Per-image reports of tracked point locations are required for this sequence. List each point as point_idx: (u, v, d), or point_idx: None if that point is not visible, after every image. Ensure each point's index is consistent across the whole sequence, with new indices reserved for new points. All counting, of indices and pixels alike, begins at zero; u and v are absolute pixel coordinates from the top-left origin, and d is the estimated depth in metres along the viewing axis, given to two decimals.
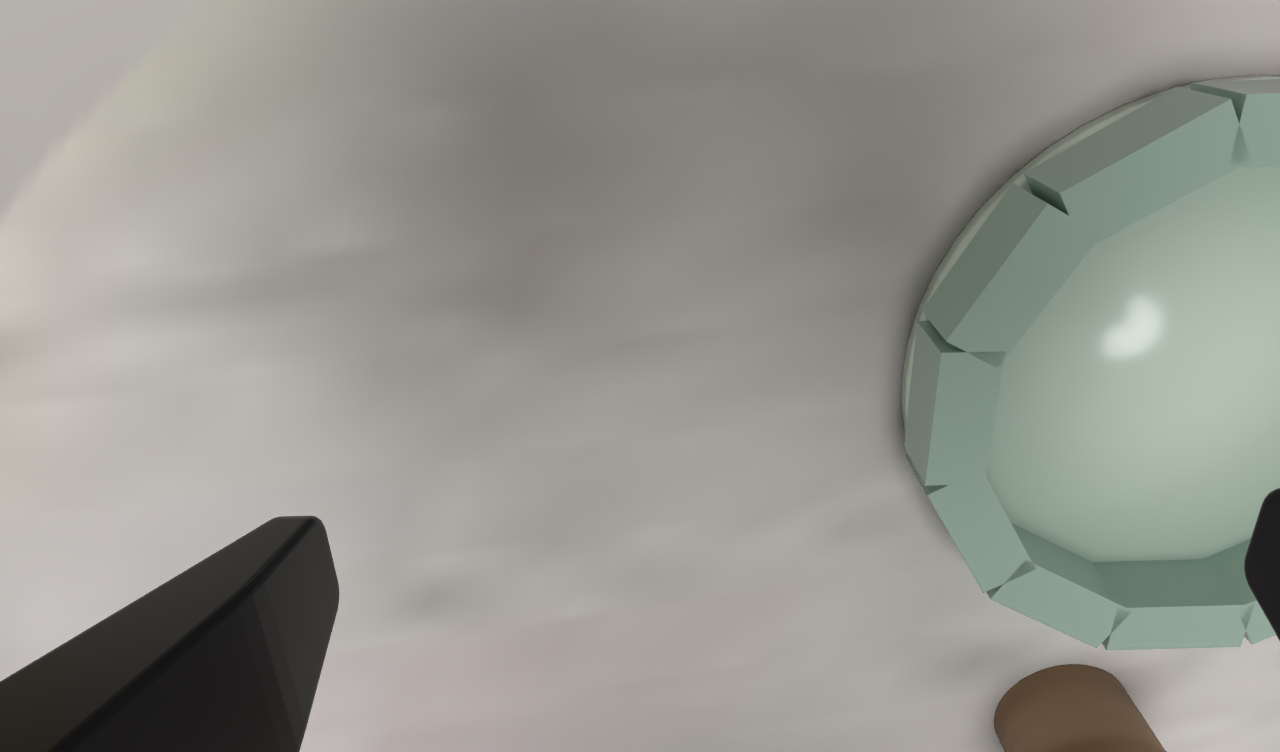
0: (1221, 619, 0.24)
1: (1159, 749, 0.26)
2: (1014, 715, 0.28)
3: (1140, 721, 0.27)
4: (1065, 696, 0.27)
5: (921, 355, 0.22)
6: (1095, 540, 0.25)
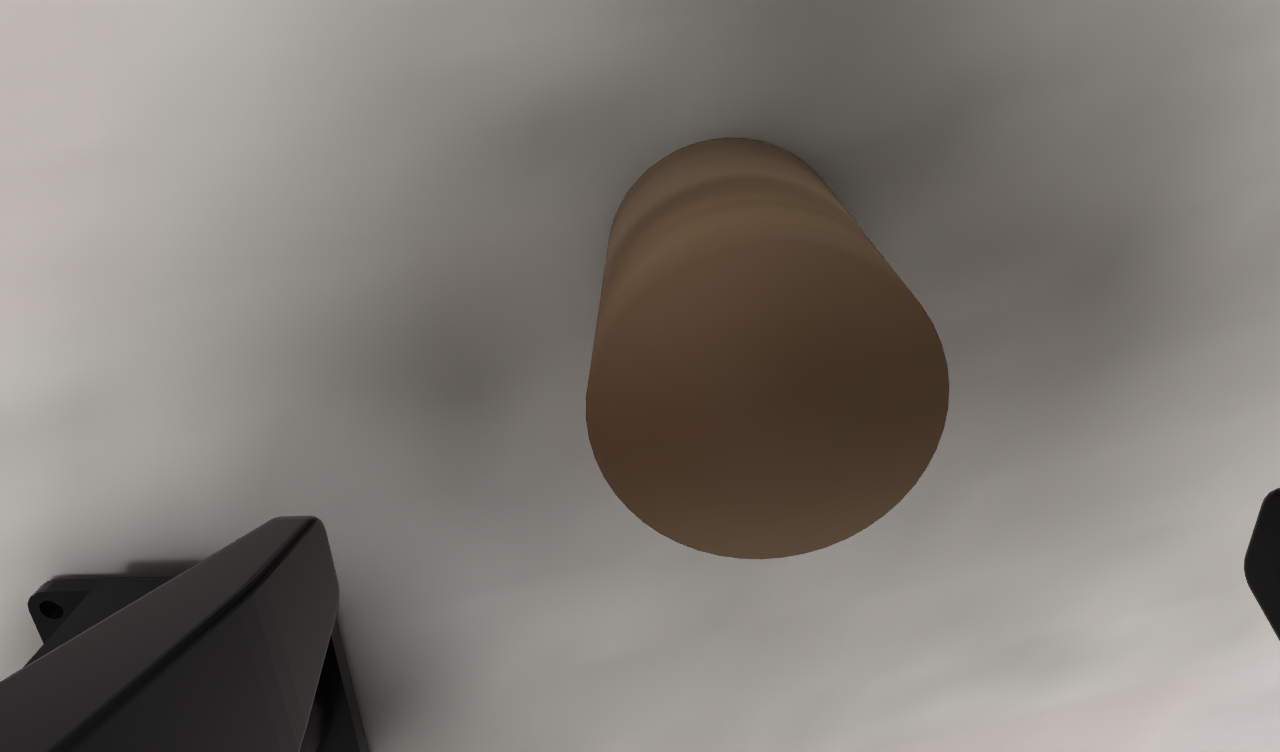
0: None
1: (835, 204, 0.12)
2: (615, 229, 0.15)
3: (820, 186, 0.13)
4: (689, 162, 0.14)
5: None
6: None
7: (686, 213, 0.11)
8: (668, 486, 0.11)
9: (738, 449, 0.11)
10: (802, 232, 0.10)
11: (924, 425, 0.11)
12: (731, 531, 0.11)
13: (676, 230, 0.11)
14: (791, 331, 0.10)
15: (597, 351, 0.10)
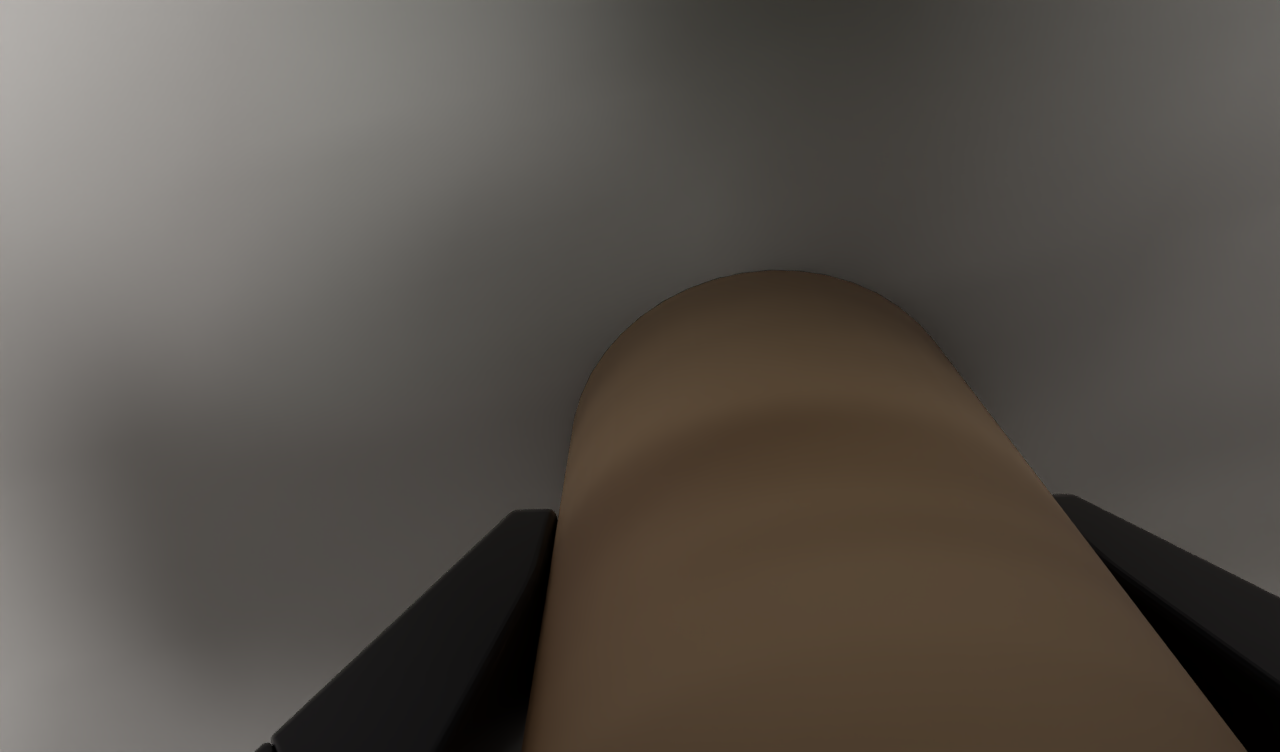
0: None
1: (1008, 456, 0.06)
2: (579, 429, 0.09)
3: (957, 391, 0.07)
4: (709, 330, 0.08)
5: None
6: None
7: (716, 531, 0.05)
8: None
9: None
10: (1043, 716, 0.04)
11: None
12: None
13: (694, 600, 0.05)
14: None
15: None
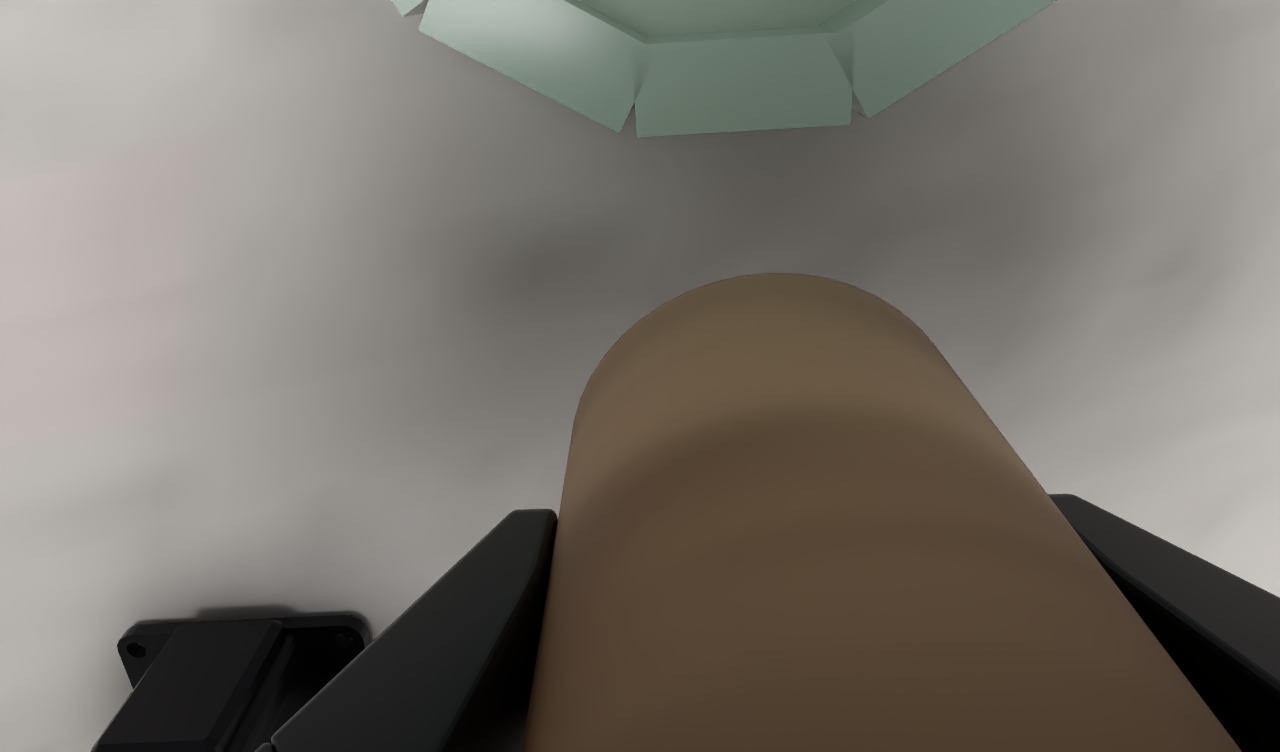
0: (807, 66, 0.14)
1: (1007, 460, 0.06)
2: None
3: (957, 394, 0.07)
4: (708, 334, 0.08)
5: None
6: None
7: (712, 534, 0.05)
8: None
9: None
10: (1040, 719, 0.04)
11: None
12: None
13: (694, 605, 0.05)
14: None
15: None
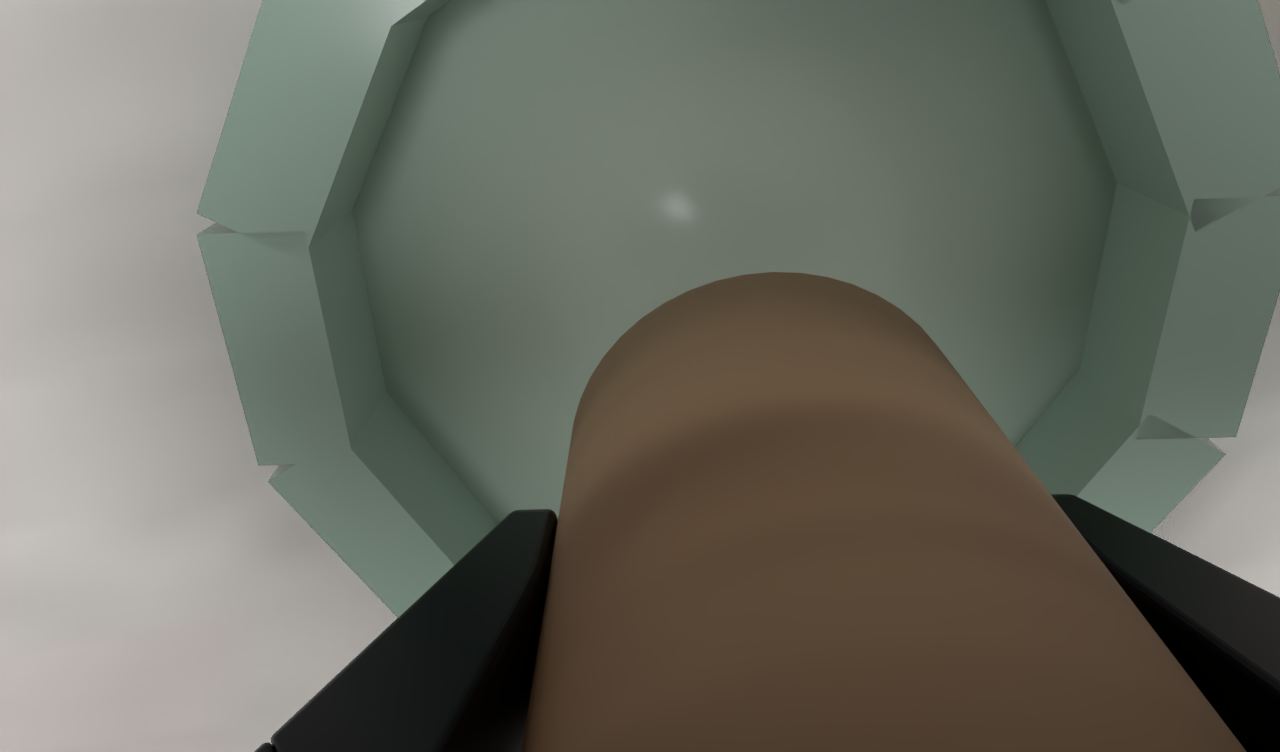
0: None
1: (1009, 460, 0.06)
2: (579, 432, 0.09)
3: (959, 393, 0.07)
4: (709, 333, 0.08)
5: None
6: None
7: (715, 536, 0.05)
8: None
9: None
10: (1045, 721, 0.04)
11: None
12: None
13: (695, 606, 0.05)
14: None
15: None
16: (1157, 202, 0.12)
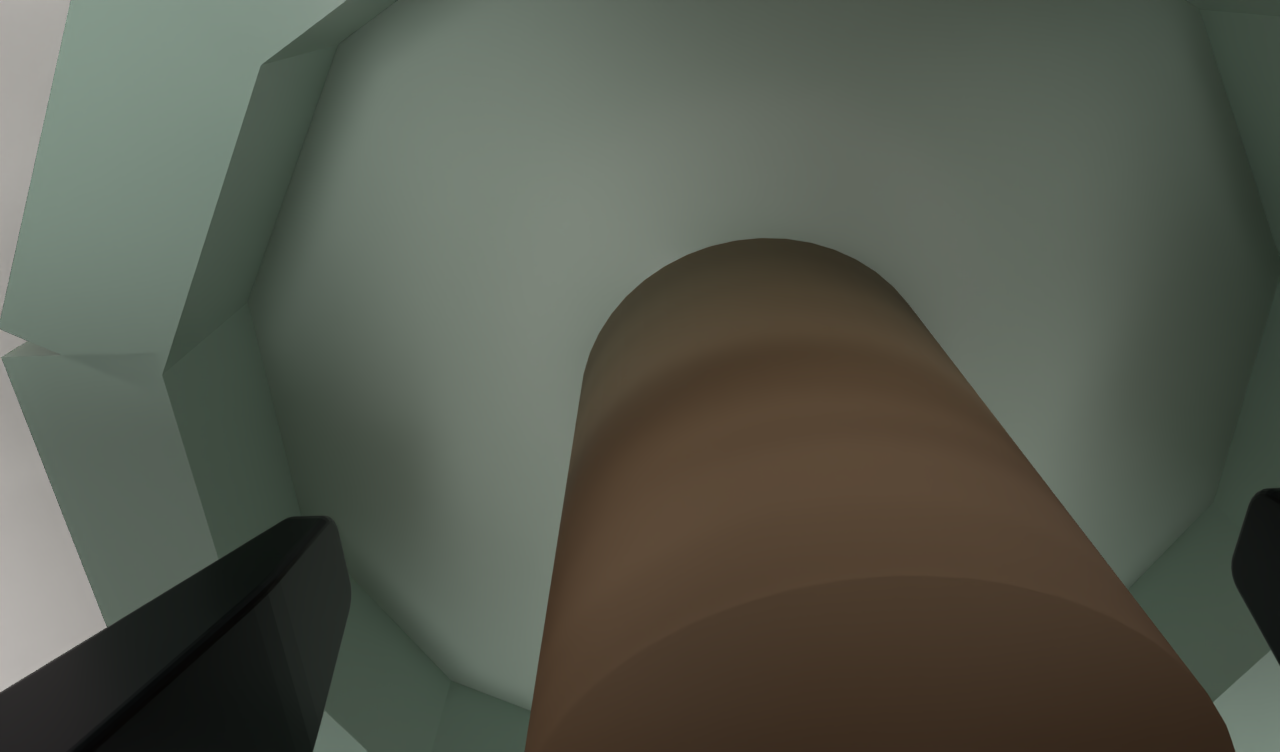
0: None
1: (959, 386, 0.07)
2: None
3: (921, 337, 0.08)
4: (704, 287, 0.09)
5: None
6: None
7: (706, 435, 0.06)
8: None
9: None
10: (960, 547, 0.05)
11: None
12: None
13: (689, 484, 0.06)
14: (930, 736, 0.05)
15: None
16: None
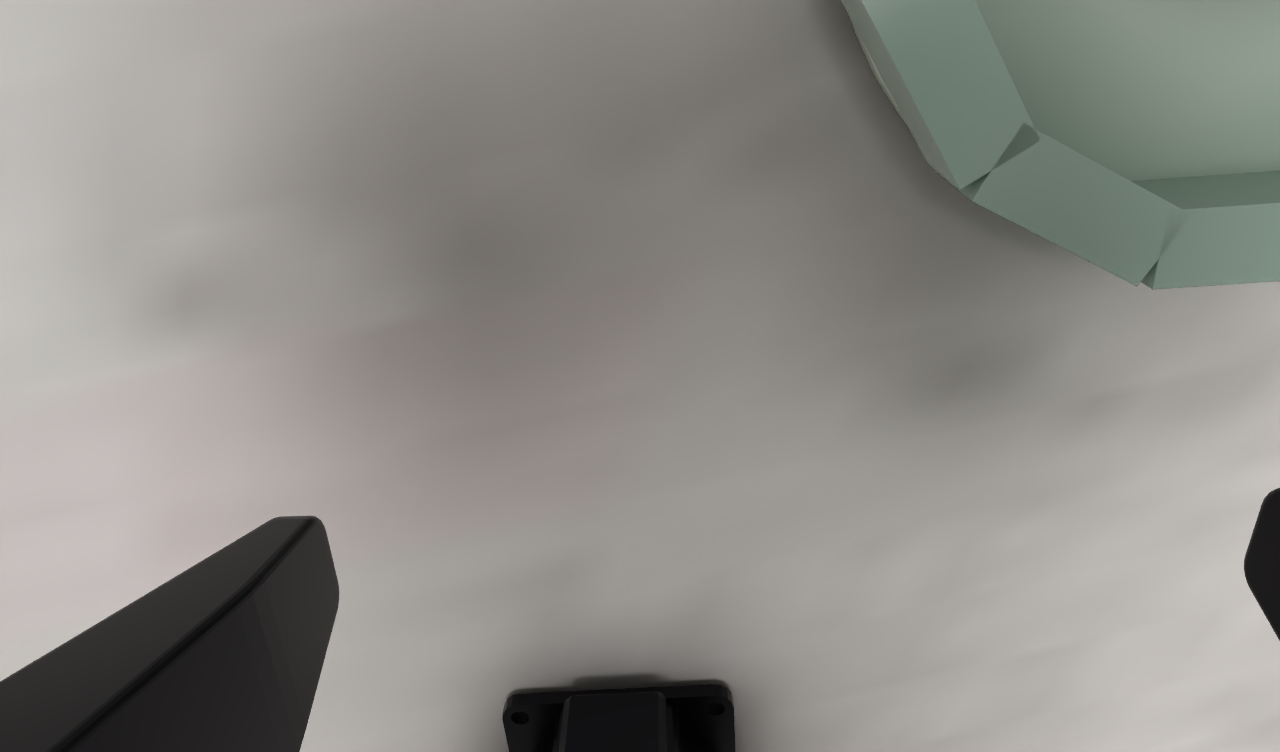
0: None
1: None
2: None
3: None
4: None
5: None
6: (1131, 141, 0.17)
7: None
8: None
9: None
10: None
11: None
12: None
13: None
14: None
15: None
16: None
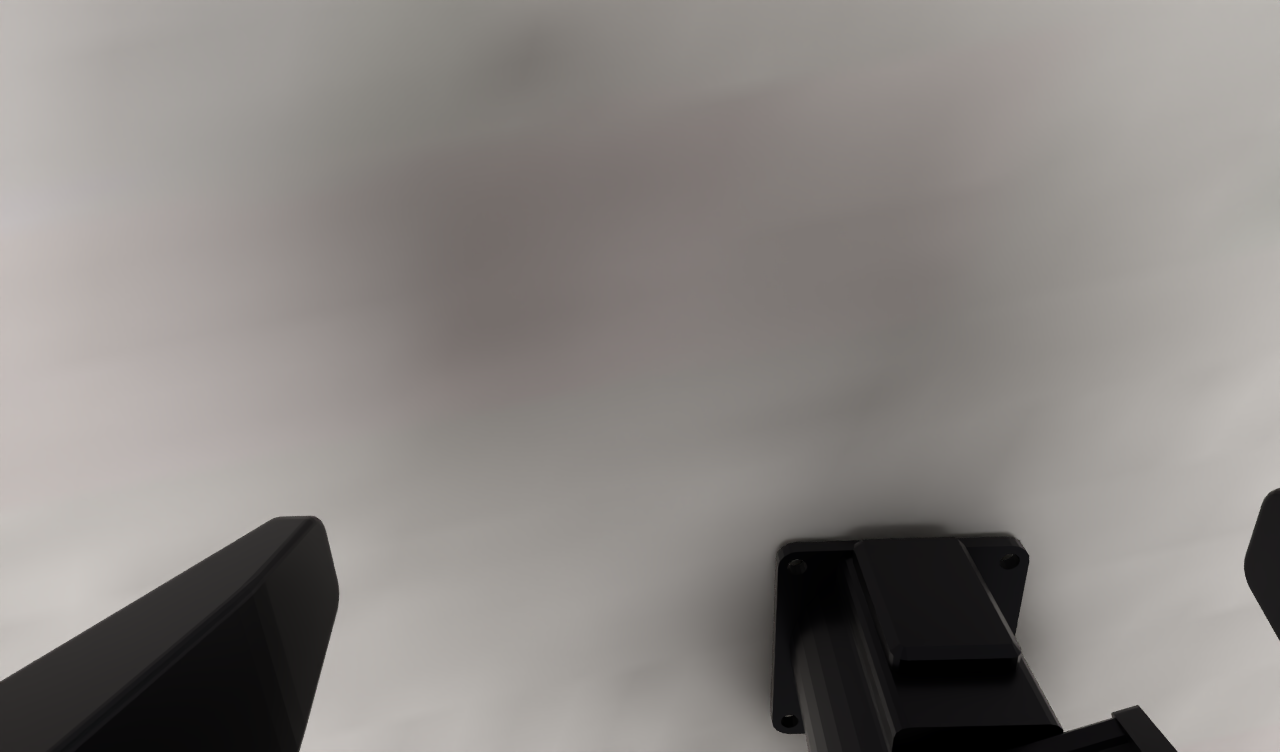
0: None
1: None
2: None
3: None
4: None
5: None
6: None
7: None
8: None
9: None
10: None
11: None
12: None
13: None
14: None
15: None
16: None
